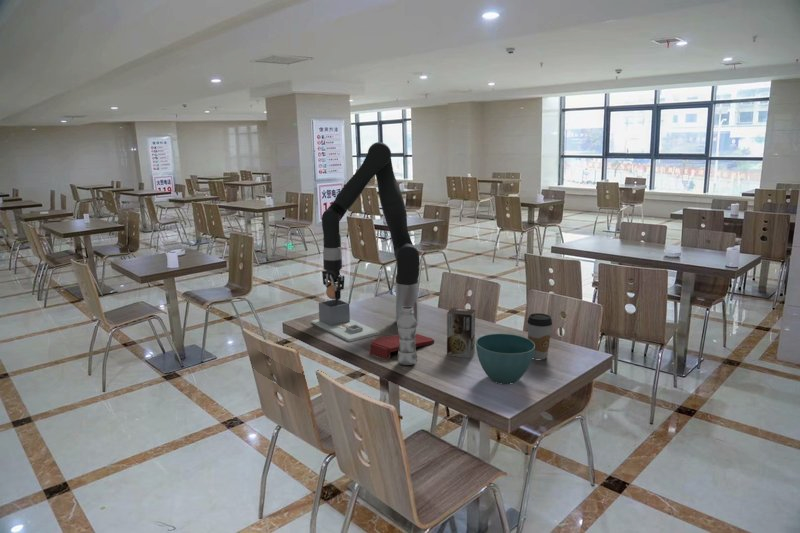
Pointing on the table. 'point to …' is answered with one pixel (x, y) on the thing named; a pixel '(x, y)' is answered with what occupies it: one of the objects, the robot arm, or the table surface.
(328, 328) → the ball rack
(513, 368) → the teal bowl
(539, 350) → the coffee cup
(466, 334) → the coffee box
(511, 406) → the table surface
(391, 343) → the carton
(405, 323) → the plastic bottle
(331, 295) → the ball
